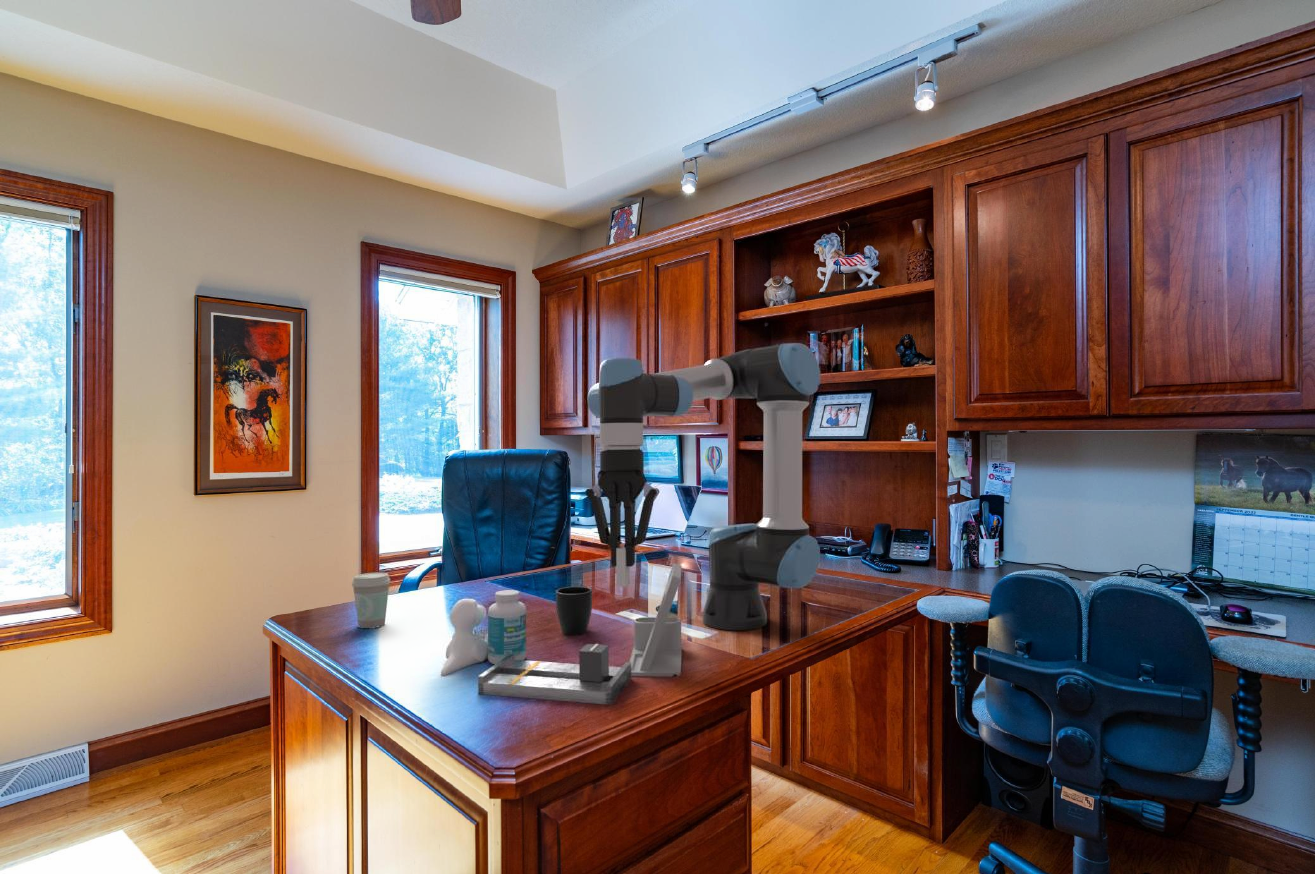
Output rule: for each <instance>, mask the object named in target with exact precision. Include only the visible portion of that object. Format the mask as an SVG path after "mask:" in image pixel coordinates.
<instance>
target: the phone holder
mask: <svg viewBox="0 0 1315 874" xmlns="http://www.w3.org/2000/svg"><path fill="white" fill-rule="evenodd" d="M681 578H682V564H678V563H673V564H672V567H671V569H670V573H669V575H668V579H667V582H666V584H665V588H664V592H663V594H662V595H663V596H662V599H661V602H660V606H659V608H658V611H657V614H656V617H654V616H651V617H650V616H649V617H648V616H647V617H638V618H635V619H634V620H633V648H632V652H631V656H630V658H629V662H631V677H673V676H675V675H676V677H678V676H681V674H682V651H683V650H682V620H681V619H680V618H679V617H671V616H670V617H668V616H669V615H670V611H671V608H672V605H673V603H674V600H675V598H676V597H675V596H676V594H677V592H678V588H679V585H680V582H681Z"/></svg>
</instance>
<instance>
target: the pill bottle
mask: <svg viewBox="0 0 1315 874" xmlns="http://www.w3.org/2000/svg"><path fill="white" fill-rule="evenodd" d="M494 599H495V601H496V602H494V603H492V604H491V605H490V606H489V608H488V611H487V627H488V658H487V660H488V662H489V663H491V664H493V665H495V664H496V663H498V662H499V661H501V660H502V659H504V658H505V657H506V656H508V655H509V654H515V660H525V659H526V657H527V606H526V604H525V603H523V602H521V601H519V599H520V591H518V590H515V589H507V590H506V589H505V590H499V591H496V592H495V593H494Z"/></svg>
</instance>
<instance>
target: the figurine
mask: <svg viewBox="0 0 1315 874" xmlns="http://www.w3.org/2000/svg"><path fill="white" fill-rule="evenodd" d="M486 617H487V609H486V607H484V605H482V604H479V603H478V601H477V600H475V599H474V598H463V599H459V600H458V601H456V603H455V604H454V605H453V606H452V609H450V613H449V621H450V623H451V625H452V627H453V628H454V633H453V635H452V636H451V640H450V642H449V643H448V645H447V647H446V648H445V649H446V650H445V658H446V661H445V663H444V664H443V667H442V669H441V671H440V675H441V676H447V675H449V674H451V673H453V672H457V671H459V670H461V669H463V668H465V667H468V666H470V665H471V666H472V665H474V664H478V663H481V662H484V661H486V659H488V626H487V627H486V629H485V627H482V628H481V629H480V628H478V627H479V626H480V625H481V623H482V622H483V621H484V620H485V619H486ZM477 628H478V630H477Z"/></svg>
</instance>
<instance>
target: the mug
mask: <svg viewBox="0 0 1315 874" xmlns="http://www.w3.org/2000/svg"><path fill="white" fill-rule="evenodd" d="M555 607H556V614H557V618H558V623H559V625H560V628H561V632H562V634H563V635H565V636H579V635H580V636H581V635H583V634H586V633H587V631H588V626H589V623H590V620H591V616H592V609H593V589H592V588H591V587H588V586H587V587H586V586H582V585H581V586H566V587H560V588H558V589H557V590H555Z"/></svg>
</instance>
